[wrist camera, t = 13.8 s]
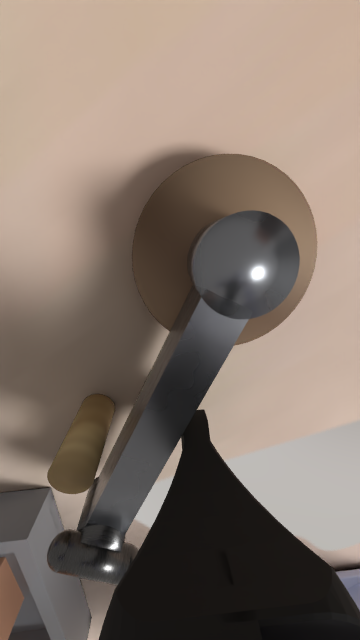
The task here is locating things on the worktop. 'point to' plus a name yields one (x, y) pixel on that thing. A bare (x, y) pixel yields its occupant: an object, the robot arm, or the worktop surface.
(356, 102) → the worktop surface
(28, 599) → the tray
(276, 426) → the worktop surface
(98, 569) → the crank
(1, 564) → the block
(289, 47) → the worktop surface
